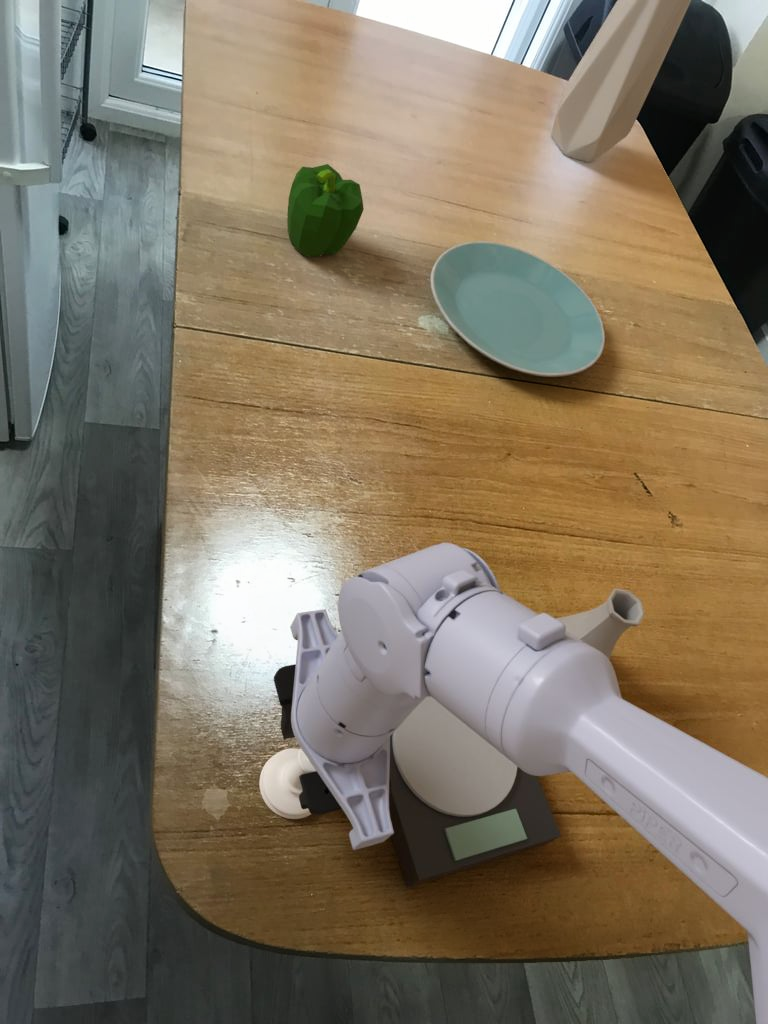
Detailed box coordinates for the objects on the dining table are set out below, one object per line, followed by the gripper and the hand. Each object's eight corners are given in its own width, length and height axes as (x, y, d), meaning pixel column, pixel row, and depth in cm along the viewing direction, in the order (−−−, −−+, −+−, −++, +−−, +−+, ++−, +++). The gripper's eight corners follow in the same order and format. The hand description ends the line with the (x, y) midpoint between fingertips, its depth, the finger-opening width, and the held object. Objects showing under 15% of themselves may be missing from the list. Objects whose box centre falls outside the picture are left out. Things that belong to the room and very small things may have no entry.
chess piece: (252, 756, 60) (285, 703, 53) (317, 744, 63) (356, 692, 55) (267, 825, 58) (303, 780, 50) (333, 811, 60) (377, 765, 52)
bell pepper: (324, 215, 100) (348, 140, 92) (359, 262, 97) (387, 189, 89) (262, 222, 95) (282, 143, 88) (296, 271, 92) (320, 195, 85)
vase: (570, 119, 136) (693, -109, 111) (618, 163, 133) (756, -61, 108) (522, 126, 129) (641, -116, 104) (571, 173, 126) (707, -65, 101)
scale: (545, 844, 64) (565, 834, 62) (406, 888, 59) (421, 878, 56) (480, 676, 71) (495, 661, 68) (349, 701, 65) (361, 686, 63)
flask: (522, 677, 72) (580, 624, 64) (536, 610, 77) (592, 553, 69) (597, 710, 72) (664, 662, 65) (606, 642, 77) (669, 589, 69)
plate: (422, 362, 91) (432, 343, 89) (423, 237, 104) (431, 218, 102) (604, 412, 96) (617, 395, 94) (582, 287, 109) (594, 270, 107)
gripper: (470, 798, 46) (389, 858, 56) (389, 569, 53) (330, 660, 63) (352, 830, 43) (289, 887, 53) (281, 582, 49) (238, 676, 60)
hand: (304, 766), depth 58 cm, fingers open, 4 cm apart
